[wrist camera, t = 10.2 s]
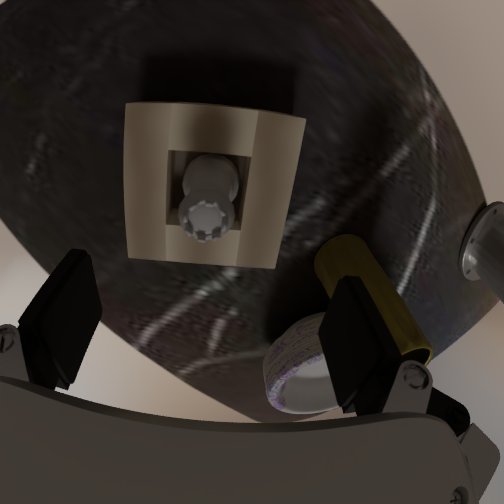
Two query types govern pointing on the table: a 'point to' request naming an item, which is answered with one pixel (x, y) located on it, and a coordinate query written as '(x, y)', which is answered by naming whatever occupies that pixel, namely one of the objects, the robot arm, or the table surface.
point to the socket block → (189, 148)
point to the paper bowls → (299, 370)
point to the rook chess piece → (208, 197)
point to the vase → (372, 291)
